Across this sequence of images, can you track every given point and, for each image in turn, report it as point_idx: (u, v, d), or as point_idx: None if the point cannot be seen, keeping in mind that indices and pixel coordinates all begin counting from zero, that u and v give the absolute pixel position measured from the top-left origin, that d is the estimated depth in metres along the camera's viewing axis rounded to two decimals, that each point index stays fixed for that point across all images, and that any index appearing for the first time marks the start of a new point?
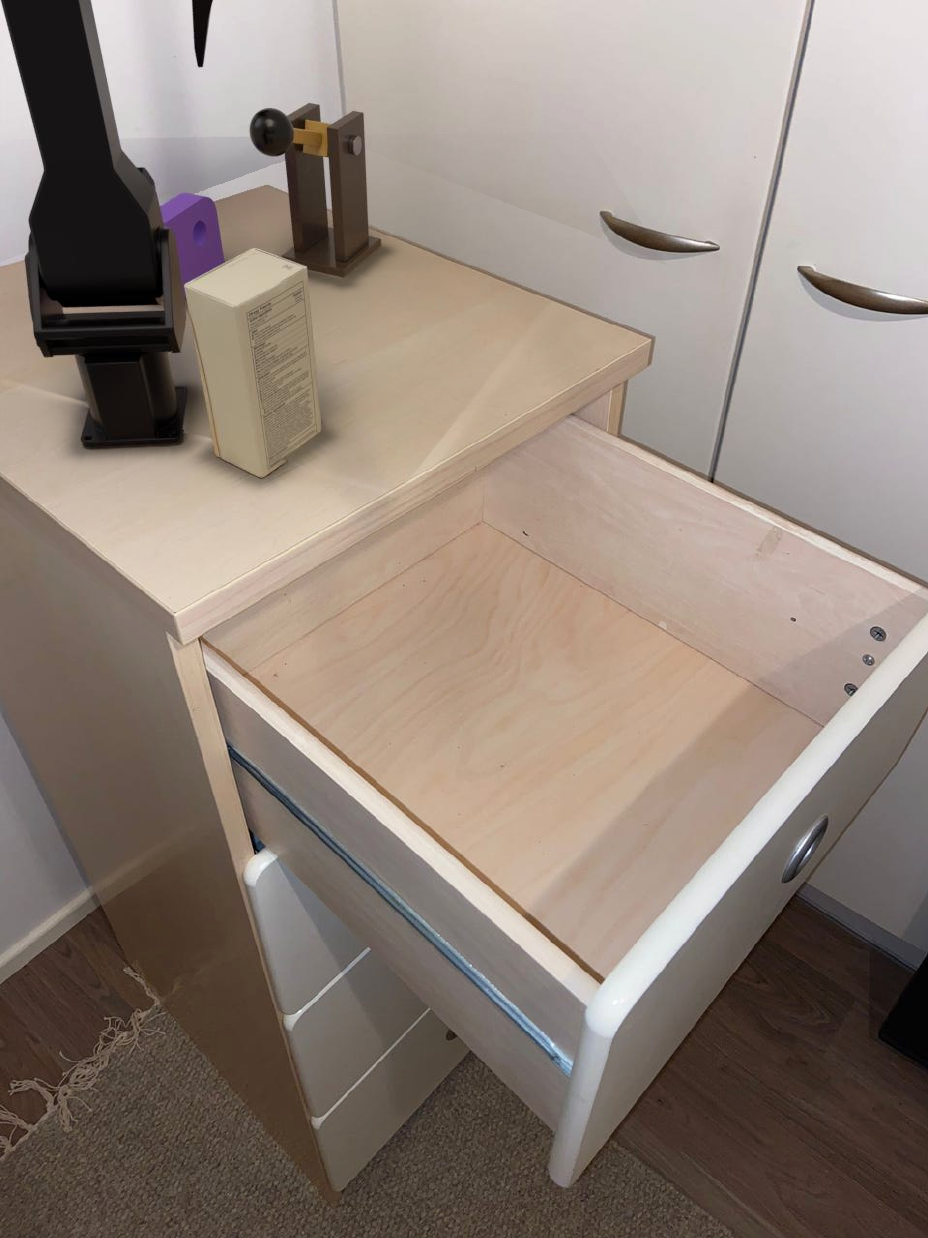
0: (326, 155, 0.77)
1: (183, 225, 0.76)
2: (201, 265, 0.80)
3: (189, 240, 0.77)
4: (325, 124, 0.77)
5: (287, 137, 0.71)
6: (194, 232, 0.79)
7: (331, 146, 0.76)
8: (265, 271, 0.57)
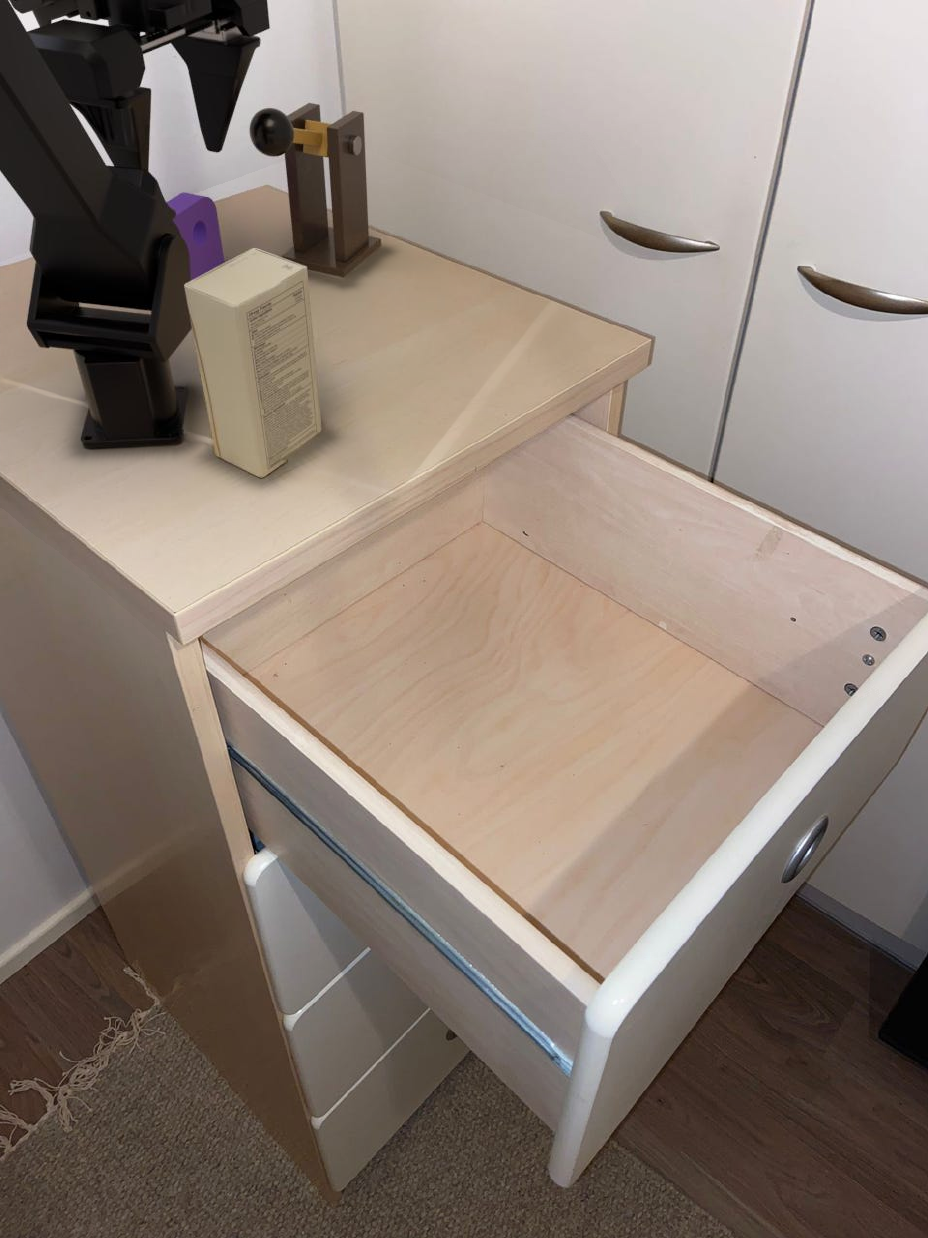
0: (326, 155, 0.77)
1: (183, 225, 0.76)
2: (201, 265, 0.80)
3: (189, 240, 0.77)
4: (325, 124, 0.77)
5: (287, 137, 0.71)
6: (194, 232, 0.79)
7: (331, 146, 0.76)
8: (265, 271, 0.57)
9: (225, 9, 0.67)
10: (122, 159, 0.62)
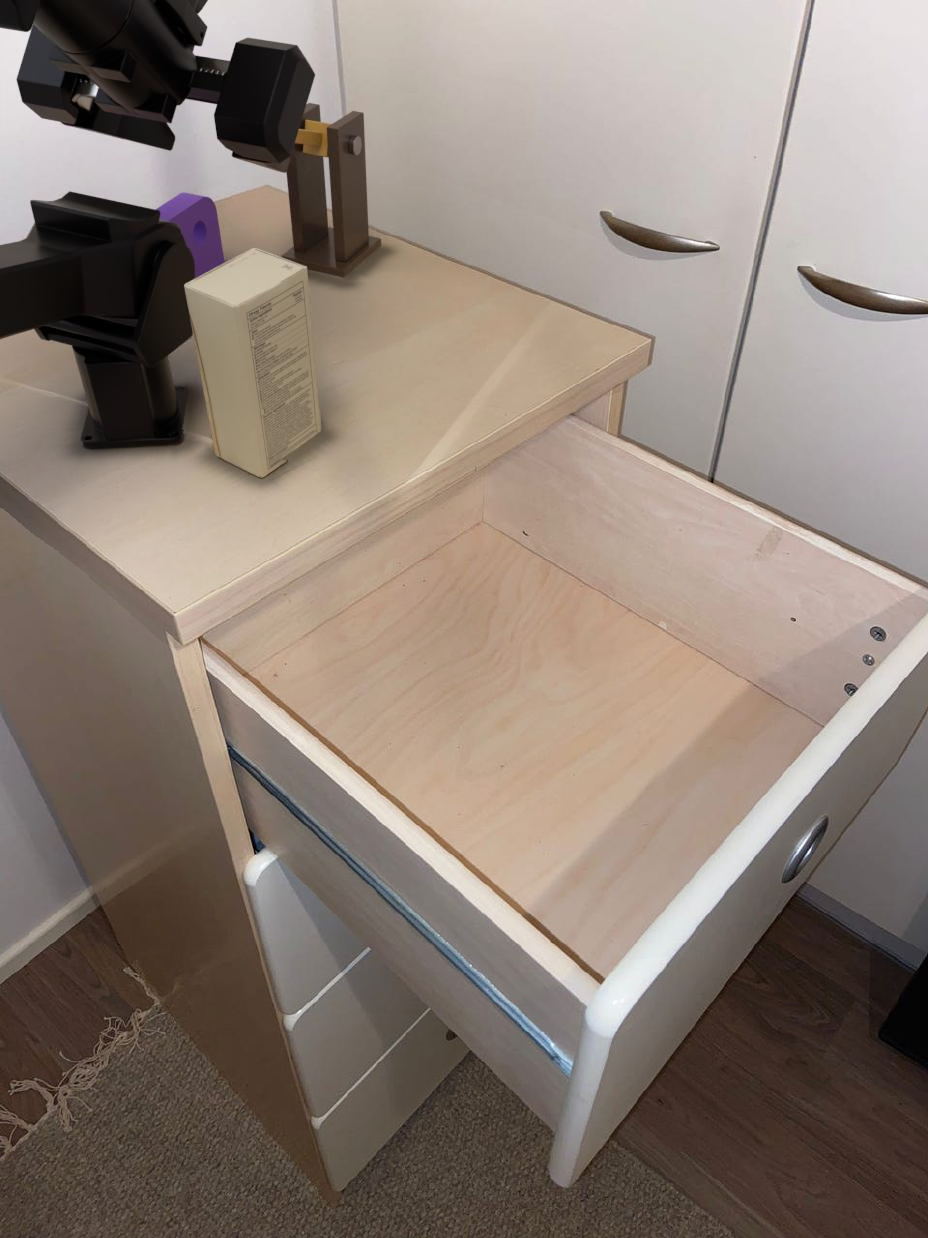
0: (326, 155, 0.77)
1: (183, 225, 0.76)
2: (201, 265, 0.80)
3: (189, 240, 0.77)
4: (325, 124, 0.77)
5: None
6: (194, 232, 0.79)
7: (331, 146, 0.76)
8: (265, 271, 0.57)
9: None
10: None
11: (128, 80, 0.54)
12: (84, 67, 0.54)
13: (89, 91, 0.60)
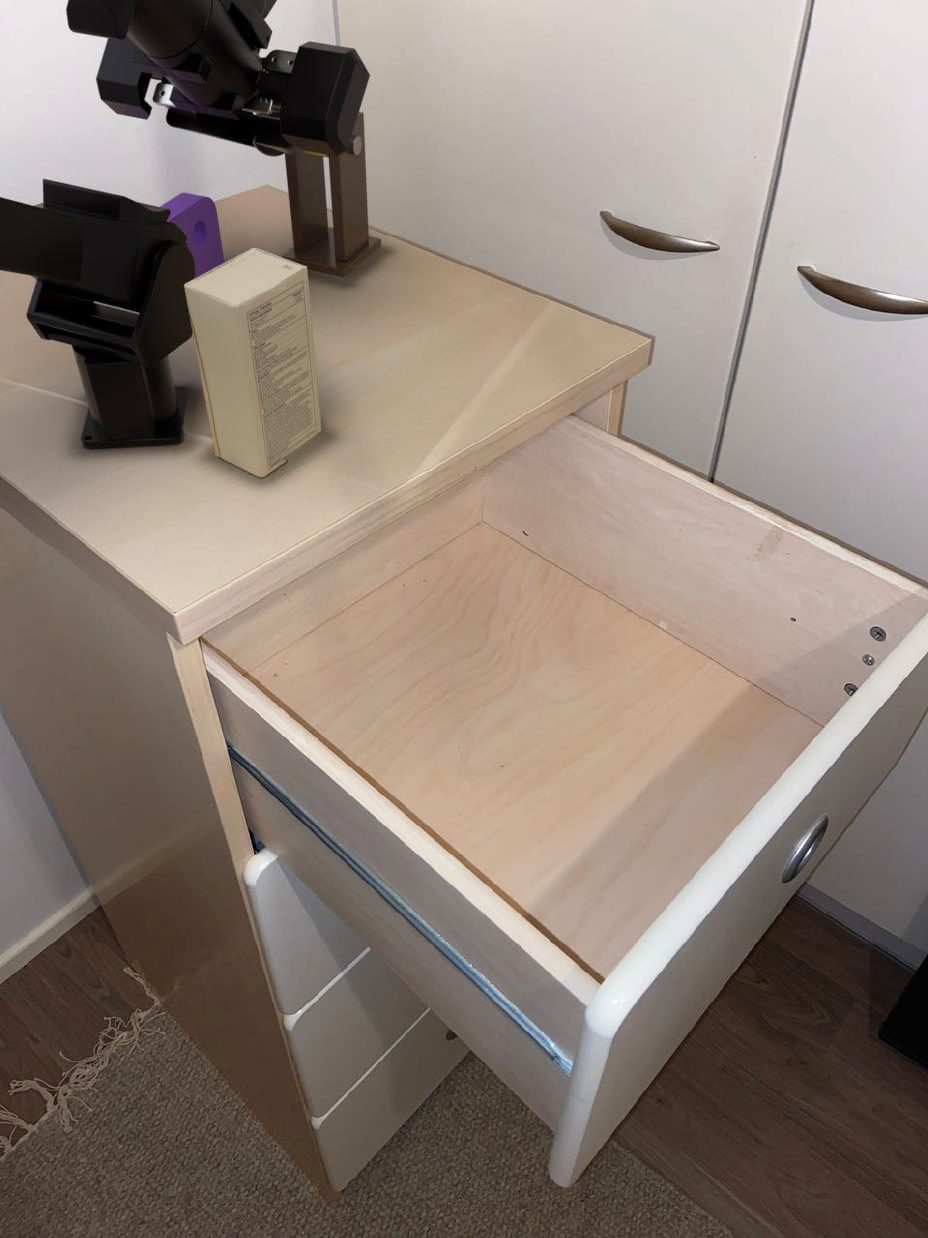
0: (326, 155, 0.77)
1: (183, 225, 0.76)
2: (201, 265, 0.80)
3: (189, 240, 0.77)
4: None
5: None
6: (194, 232, 0.79)
7: None
8: (265, 271, 0.57)
9: None
10: None
11: (204, 81, 0.60)
12: (164, 70, 0.60)
13: None
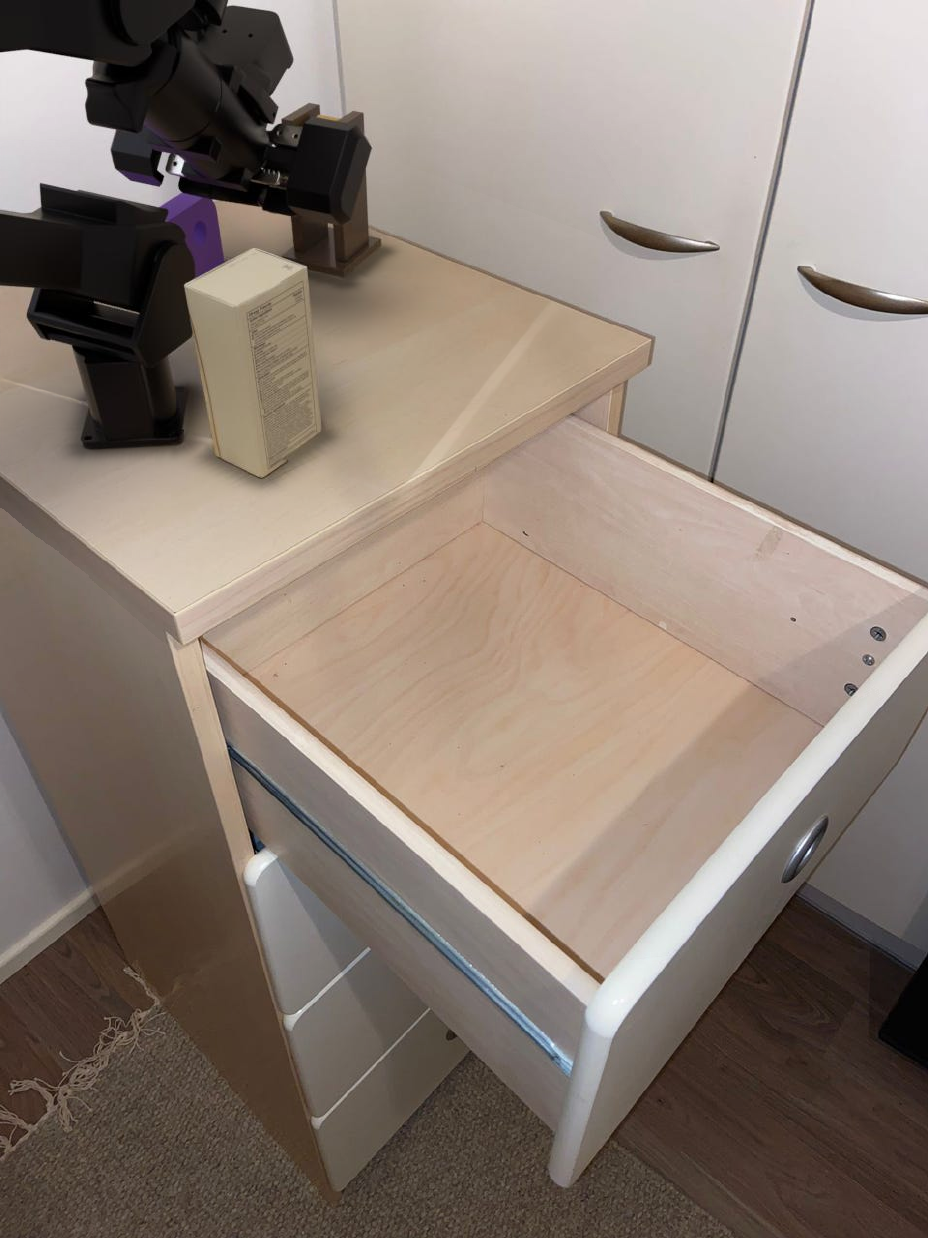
0: None
1: (183, 225, 0.76)
2: (201, 265, 0.80)
3: (189, 240, 0.77)
4: None
5: None
6: (194, 232, 0.79)
7: None
8: (265, 271, 0.57)
9: None
10: None
11: (215, 161, 0.63)
12: (177, 150, 0.63)
13: None
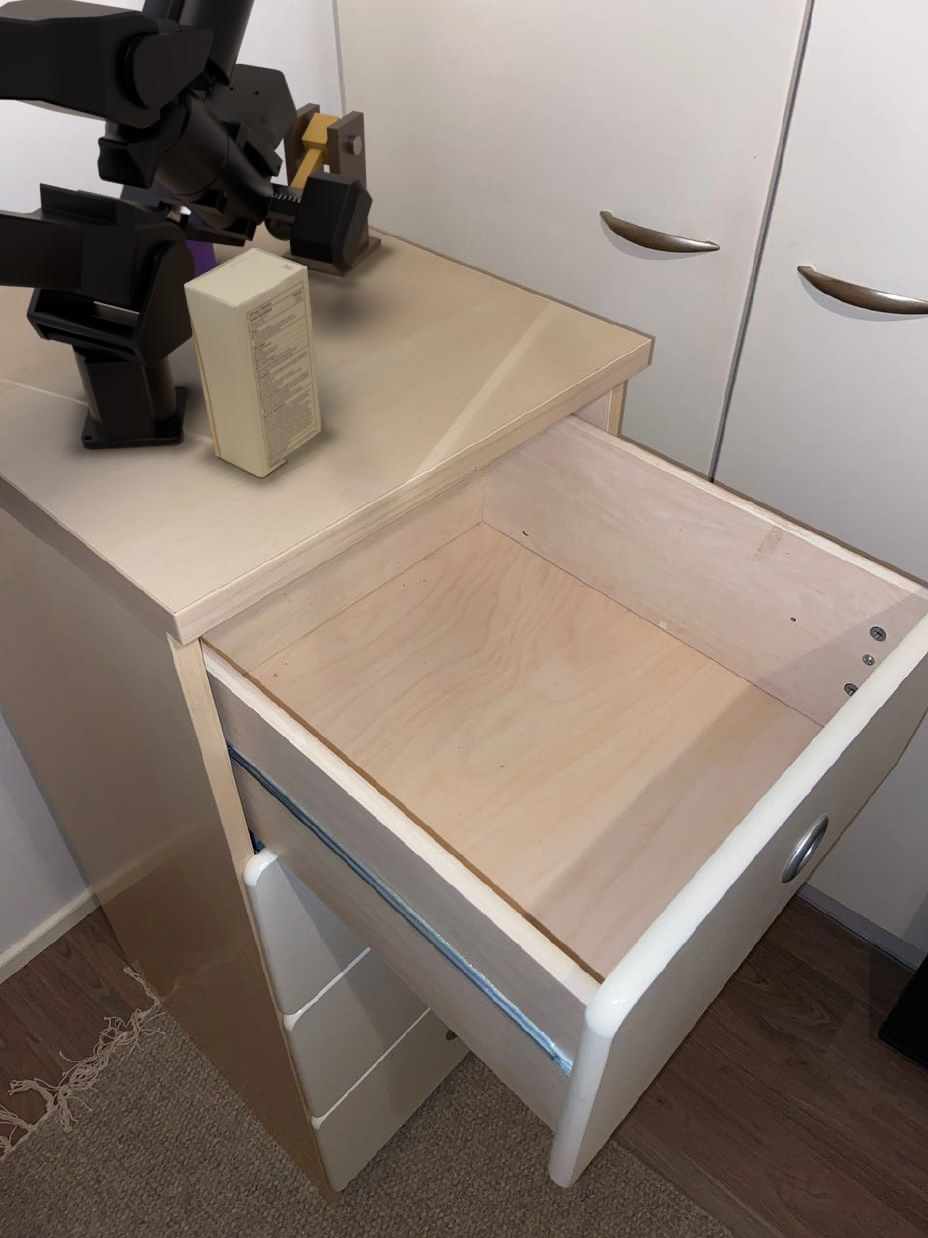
0: None
1: None
2: None
3: None
4: (321, 144, 0.77)
5: None
6: None
7: (331, 146, 0.76)
8: (265, 271, 0.57)
9: None
10: None
11: (221, 213, 0.65)
12: (184, 203, 0.65)
13: (181, 209, 0.72)
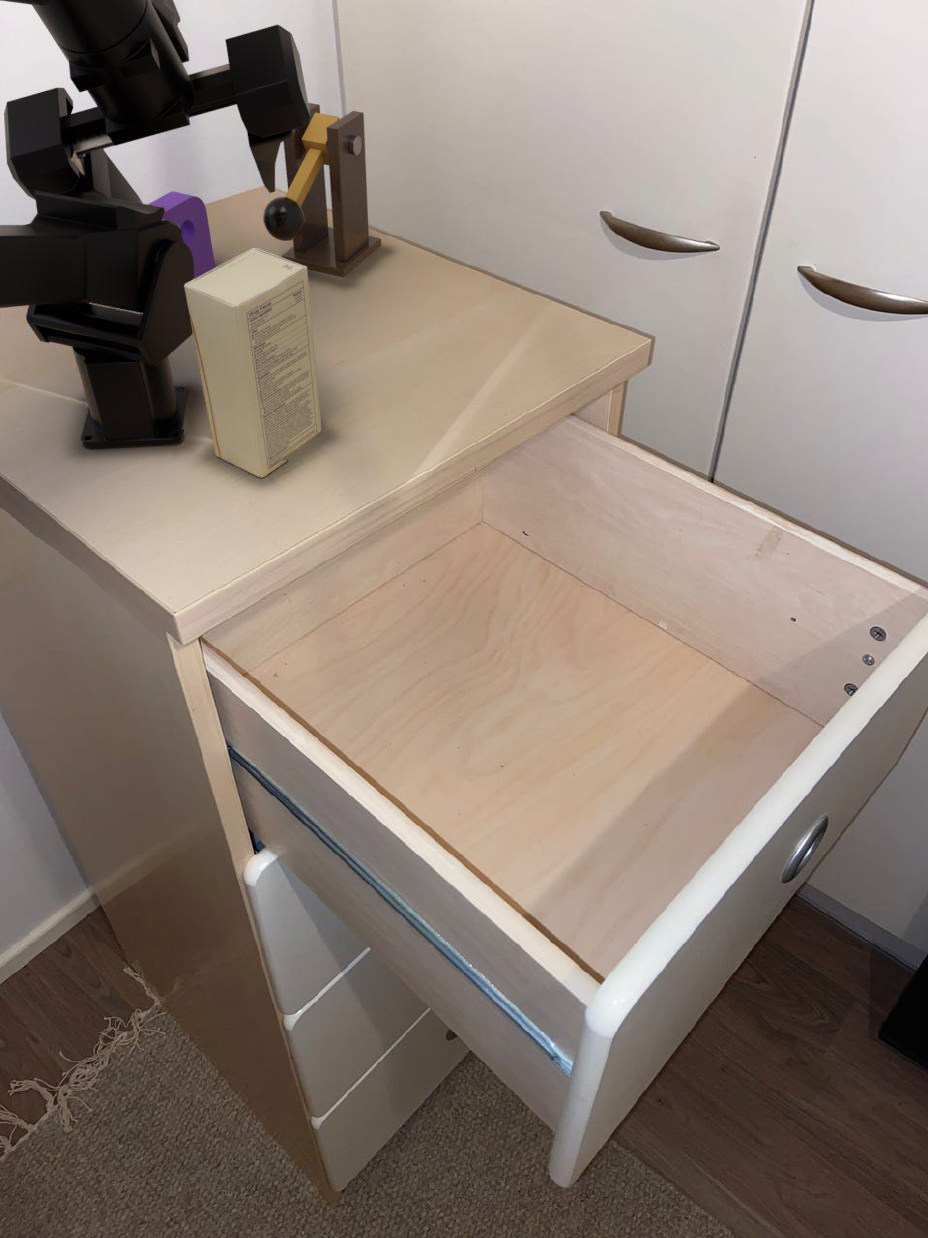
0: None
1: None
2: None
3: None
4: (321, 144, 0.77)
5: (300, 227, 0.76)
6: (183, 231, 0.79)
7: (331, 146, 0.76)
8: (265, 271, 0.57)
9: None
10: None
11: (157, 67, 0.55)
12: (109, 72, 0.54)
13: (86, 145, 0.60)
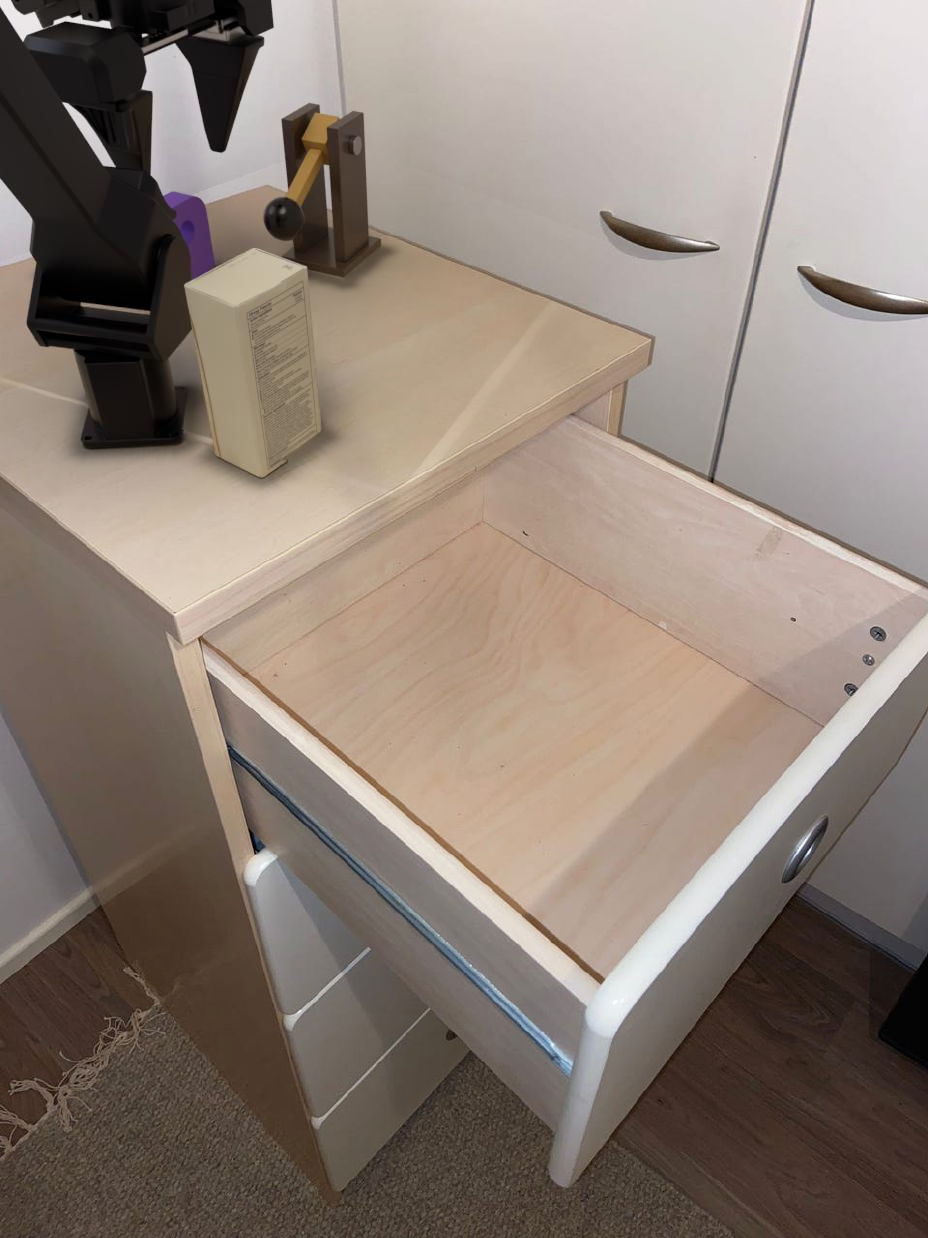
0: None
1: None
2: None
3: None
4: (321, 144, 0.77)
5: (300, 227, 0.76)
6: (183, 231, 0.79)
7: (331, 146, 0.76)
8: (265, 271, 0.57)
9: (229, 8, 0.66)
10: (124, 161, 0.62)
11: None
12: None
13: None
